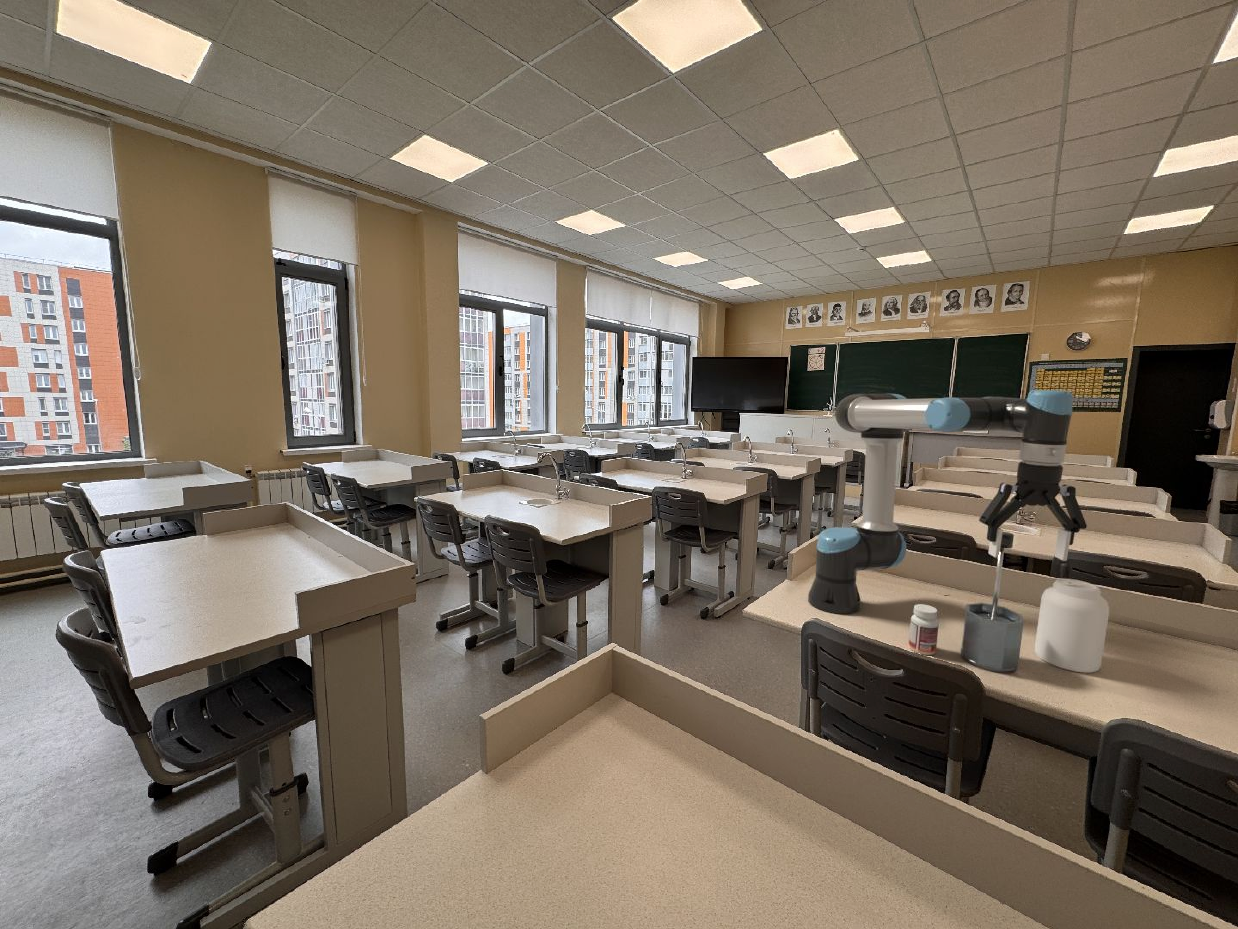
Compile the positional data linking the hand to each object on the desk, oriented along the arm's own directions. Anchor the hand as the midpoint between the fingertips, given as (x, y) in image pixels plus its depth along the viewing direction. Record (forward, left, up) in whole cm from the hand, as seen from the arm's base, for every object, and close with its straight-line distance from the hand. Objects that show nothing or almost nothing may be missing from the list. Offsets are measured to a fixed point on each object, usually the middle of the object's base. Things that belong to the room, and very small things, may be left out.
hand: (1026, 557), depth 116 cm
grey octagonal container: (-9, +4, -30) cm, 31 cm away
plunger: (-9, +3, -20) cm, 22 cm away
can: (-5, +22, -30) cm, 38 cm away
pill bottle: (-17, -9, -30) cm, 35 cm away
